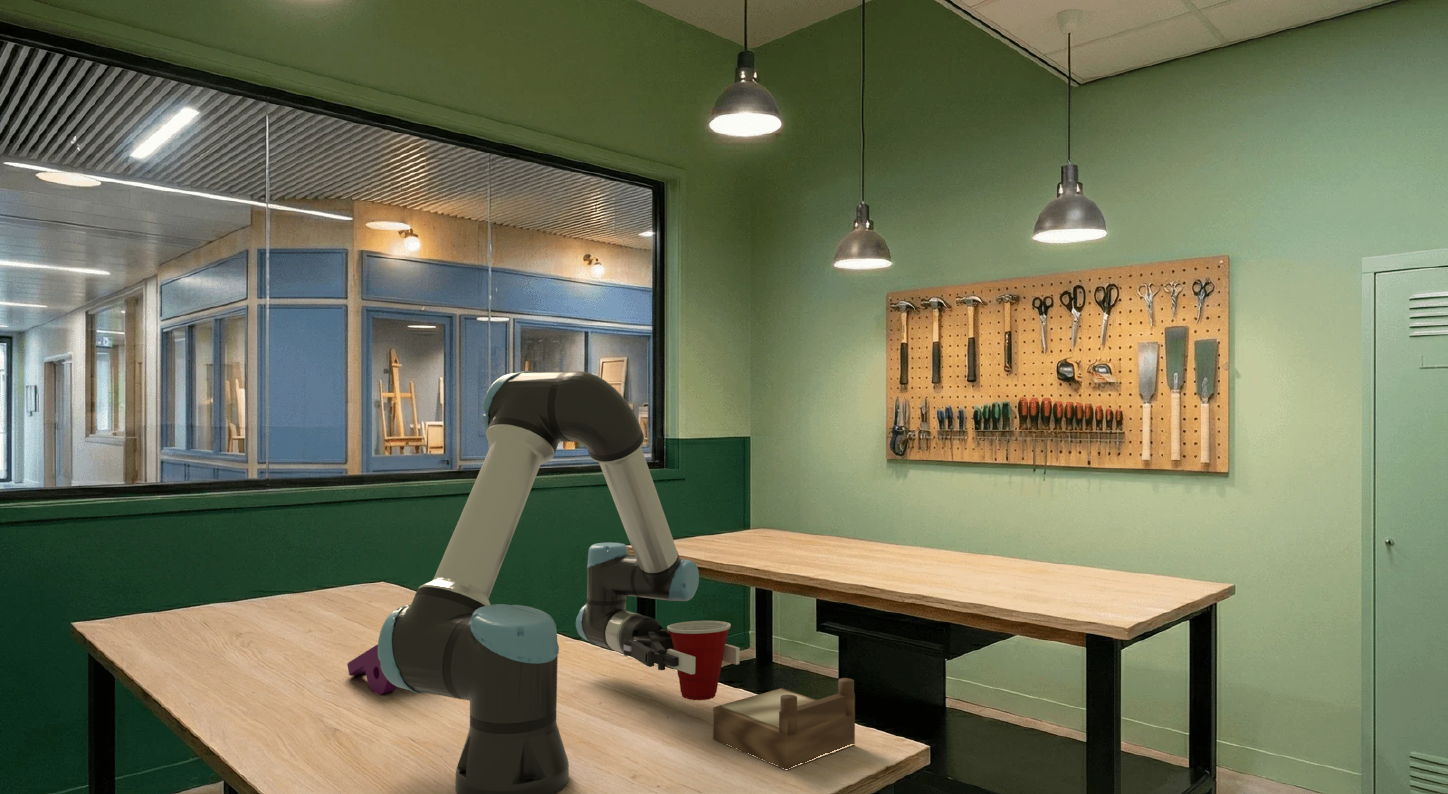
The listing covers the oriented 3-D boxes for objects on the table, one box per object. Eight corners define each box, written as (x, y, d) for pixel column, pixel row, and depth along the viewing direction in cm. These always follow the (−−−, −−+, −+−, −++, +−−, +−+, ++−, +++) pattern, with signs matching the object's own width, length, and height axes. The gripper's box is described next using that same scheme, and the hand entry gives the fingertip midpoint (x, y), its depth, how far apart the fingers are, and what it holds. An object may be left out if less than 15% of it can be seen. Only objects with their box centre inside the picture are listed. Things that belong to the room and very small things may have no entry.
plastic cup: (705, 682, 156) (706, 613, 157) (743, 698, 147) (744, 625, 148) (653, 692, 150) (654, 621, 150) (689, 709, 141) (690, 633, 141)
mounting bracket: (347, 712, 167) (390, 689, 157) (339, 668, 170) (380, 642, 159) (394, 700, 174) (438, 677, 164) (385, 658, 177) (428, 632, 166)
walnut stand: (713, 739, 139) (713, 675, 139) (781, 718, 148) (781, 658, 149) (788, 771, 126) (788, 701, 126) (856, 746, 136) (857, 680, 136)
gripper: (681, 647, 169) (763, 672, 152) (584, 665, 155) (663, 696, 138) (682, 607, 170) (763, 628, 153) (585, 622, 155) (664, 647, 138)
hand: (716, 660), depth 145 cm, fingers closed on plastic cup, 9 cm apart
